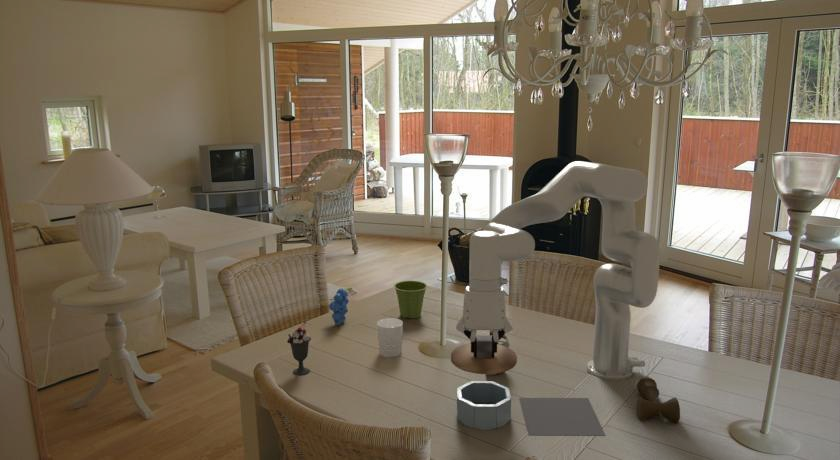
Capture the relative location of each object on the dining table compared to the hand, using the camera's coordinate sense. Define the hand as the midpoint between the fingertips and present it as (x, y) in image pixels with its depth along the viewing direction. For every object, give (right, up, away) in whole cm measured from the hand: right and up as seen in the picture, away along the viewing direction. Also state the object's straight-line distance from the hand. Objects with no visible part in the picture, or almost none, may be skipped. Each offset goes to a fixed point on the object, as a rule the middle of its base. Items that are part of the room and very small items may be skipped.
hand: (483, 354), depth 155 cm
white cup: (-25, -8, +42) cm, 49 cm away
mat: (+19, -16, +3) cm, 26 cm away
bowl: (0, -16, +4) cm, 17 cm away
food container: (+7, -11, +29) cm, 32 cm away
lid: (0, -1, 0) cm, 1 cm away
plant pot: (-19, -1, +73) cm, 75 cm away
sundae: (-50, -11, +30) cm, 59 cm away
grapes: (-44, -2, +67) cm, 80 cm away
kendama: (+43, -16, +6) cm, 47 cm away
